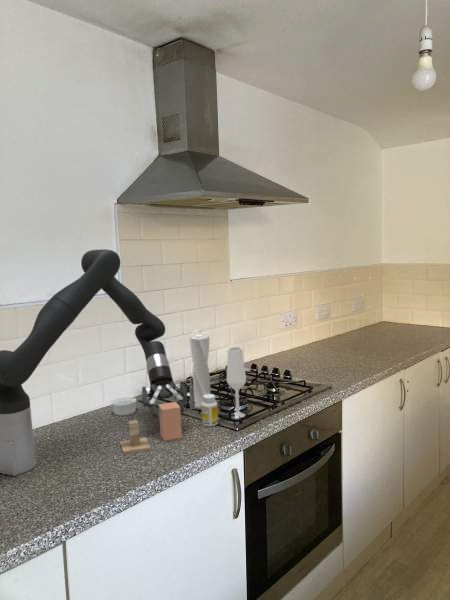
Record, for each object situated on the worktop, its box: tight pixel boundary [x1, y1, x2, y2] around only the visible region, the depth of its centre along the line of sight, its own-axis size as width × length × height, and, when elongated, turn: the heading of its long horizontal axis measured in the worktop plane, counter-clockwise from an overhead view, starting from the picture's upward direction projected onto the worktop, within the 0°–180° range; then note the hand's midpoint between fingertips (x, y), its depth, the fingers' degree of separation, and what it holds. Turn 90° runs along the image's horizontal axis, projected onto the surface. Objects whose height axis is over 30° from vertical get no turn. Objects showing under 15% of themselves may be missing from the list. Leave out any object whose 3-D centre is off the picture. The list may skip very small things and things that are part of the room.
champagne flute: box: [226, 346, 247, 417], centre depth 169 cm, size 7×7×24 cm
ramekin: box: [111, 396, 137, 416], centre depth 180 cm, size 9×9×4 cm
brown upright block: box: [158, 401, 183, 442], centre depth 156 cm, size 6×6×10 cm
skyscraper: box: [188, 328, 211, 410], centre depth 182 cm, size 8×8×28 cm
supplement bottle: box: [200, 393, 219, 427], centre depth 165 cm, size 5×5×10 cm
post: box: [119, 419, 152, 455], centre depth 149 cm, size 8×8×8 cm
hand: (168, 414), depth 157 cm, fingers open, 8 cm apart
